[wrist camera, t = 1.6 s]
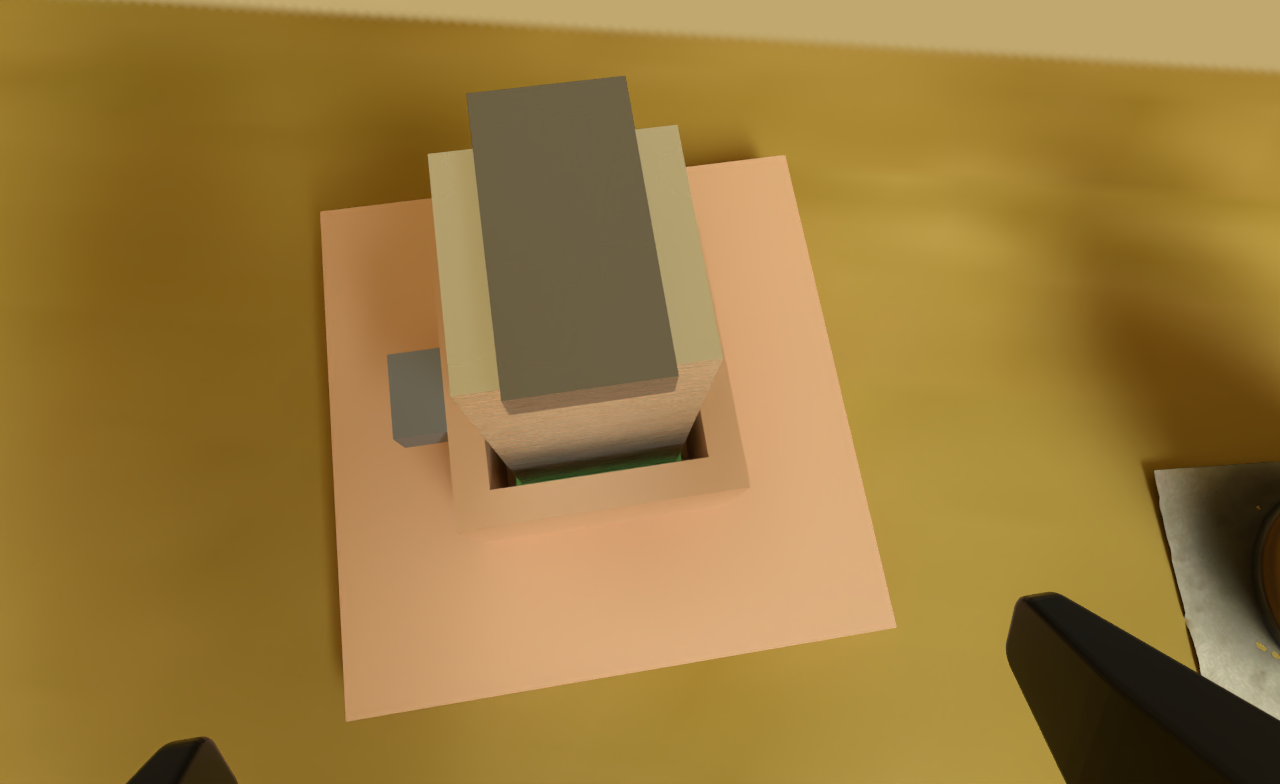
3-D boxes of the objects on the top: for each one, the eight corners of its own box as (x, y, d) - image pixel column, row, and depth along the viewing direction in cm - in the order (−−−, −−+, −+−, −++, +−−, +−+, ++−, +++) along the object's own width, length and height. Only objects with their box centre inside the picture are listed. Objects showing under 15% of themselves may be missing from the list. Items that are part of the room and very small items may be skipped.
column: (681, 480, 20) (747, 366, 10) (521, 504, 20) (429, 411, 10) (653, 314, 21) (686, 68, 11) (502, 334, 21) (402, 100, 11)
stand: (877, 625, 21) (957, 633, 16) (365, 712, 20) (284, 749, 15) (774, 181, 24) (814, 78, 19) (338, 235, 23) (266, 140, 18)
